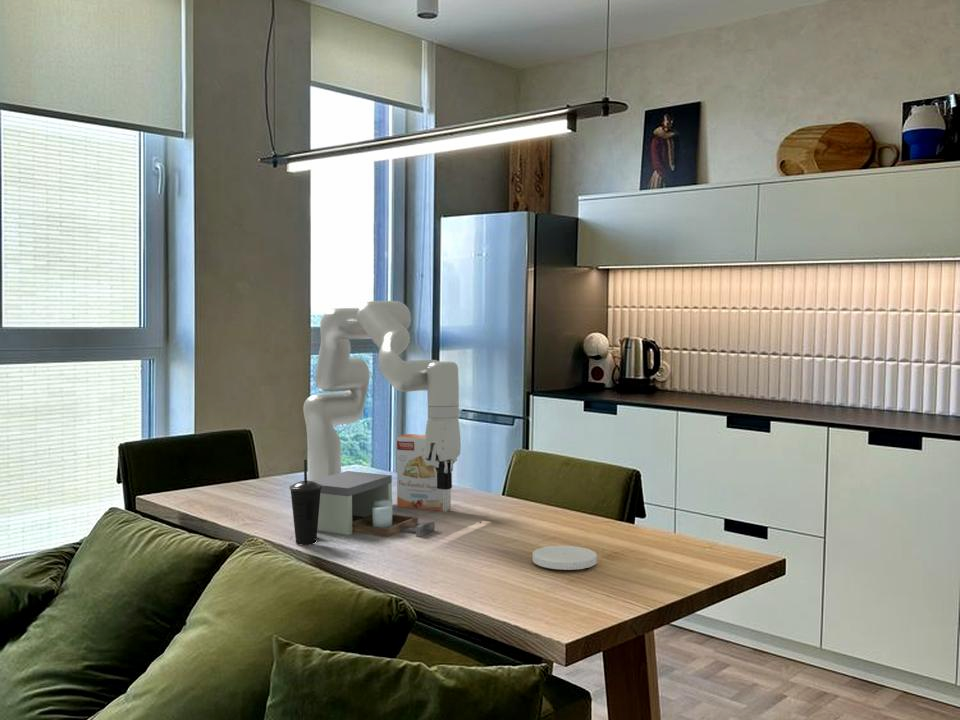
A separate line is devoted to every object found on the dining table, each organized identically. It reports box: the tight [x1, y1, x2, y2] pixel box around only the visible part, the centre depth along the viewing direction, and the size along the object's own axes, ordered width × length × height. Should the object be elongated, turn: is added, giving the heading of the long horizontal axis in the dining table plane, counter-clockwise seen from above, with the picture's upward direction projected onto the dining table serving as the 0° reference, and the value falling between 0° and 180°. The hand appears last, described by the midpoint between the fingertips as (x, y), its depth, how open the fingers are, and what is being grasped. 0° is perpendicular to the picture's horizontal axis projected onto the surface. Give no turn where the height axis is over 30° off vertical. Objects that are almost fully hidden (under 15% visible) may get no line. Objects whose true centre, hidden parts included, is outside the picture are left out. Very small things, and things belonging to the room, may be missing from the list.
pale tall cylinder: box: [373, 499, 394, 524], centre depth 228 cm, size 5×5×6 cm
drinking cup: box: [288, 458, 322, 546], centre depth 214 cm, size 8×8×20 cm
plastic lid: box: [532, 545, 598, 571], centre depth 196 cm, size 14×14×2 cm
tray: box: [352, 513, 436, 538], centre depth 223 cm, size 14×19×3 cm
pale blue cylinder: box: [372, 505, 392, 528], centre depth 221 cm, size 5×5×6 cm
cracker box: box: [396, 433, 452, 513], centre depth 248 cm, size 14×6×21 cm, turn 68°
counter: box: [312, 470, 393, 536], centre depth 227 cm, size 19×25×12 cm
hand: (444, 488), depth 217 cm, fingers closed
